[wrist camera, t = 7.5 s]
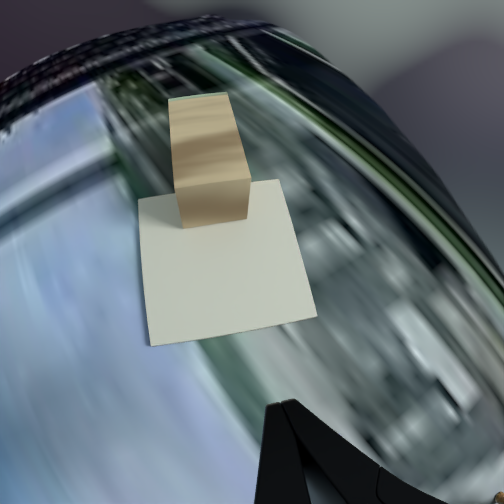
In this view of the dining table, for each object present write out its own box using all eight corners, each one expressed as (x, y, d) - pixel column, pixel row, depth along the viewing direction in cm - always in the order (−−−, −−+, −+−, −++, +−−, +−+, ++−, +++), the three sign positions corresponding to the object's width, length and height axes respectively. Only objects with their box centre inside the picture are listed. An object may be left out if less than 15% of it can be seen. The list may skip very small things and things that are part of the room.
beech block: (251, 177, 21) (226, 91, 25) (174, 188, 20) (168, 99, 24) (246, 218, 25) (226, 133, 29) (183, 228, 24) (174, 140, 29)
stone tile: (315, 317, 23) (317, 316, 23) (152, 346, 21) (150, 346, 21) (277, 181, 27) (278, 179, 27) (139, 201, 26) (138, 199, 25)
